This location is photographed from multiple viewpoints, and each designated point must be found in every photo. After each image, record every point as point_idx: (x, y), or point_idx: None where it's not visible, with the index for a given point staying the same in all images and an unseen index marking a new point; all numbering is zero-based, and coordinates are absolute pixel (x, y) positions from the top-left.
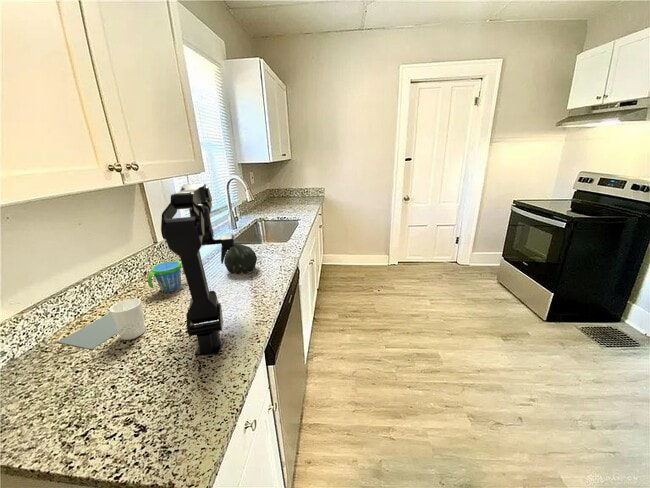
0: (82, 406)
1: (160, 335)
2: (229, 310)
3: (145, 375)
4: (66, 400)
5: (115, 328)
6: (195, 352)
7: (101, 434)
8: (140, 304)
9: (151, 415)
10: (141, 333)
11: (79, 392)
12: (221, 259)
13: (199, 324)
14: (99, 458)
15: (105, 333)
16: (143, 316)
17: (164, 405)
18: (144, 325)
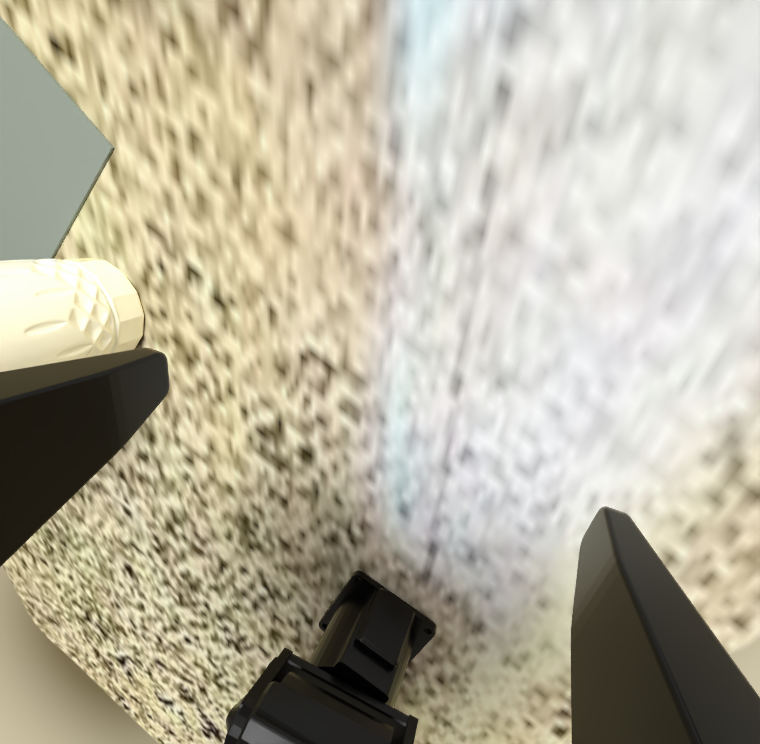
0: (89, 584)
1: (206, 404)
2: (546, 406)
3: (193, 589)
4: (50, 538)
5: (27, 213)
6: (321, 621)
7: (148, 684)
8: (6, 368)
9: (225, 717)
10: (133, 347)
11: (65, 531)
12: (579, 696)
13: (310, 679)
14: (160, 726)
15: (7, 238)
16: (83, 337)
17: None
18: (123, 326)
